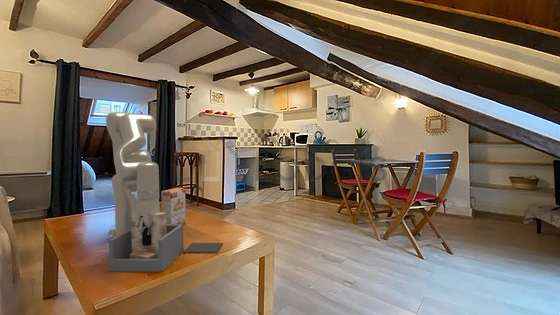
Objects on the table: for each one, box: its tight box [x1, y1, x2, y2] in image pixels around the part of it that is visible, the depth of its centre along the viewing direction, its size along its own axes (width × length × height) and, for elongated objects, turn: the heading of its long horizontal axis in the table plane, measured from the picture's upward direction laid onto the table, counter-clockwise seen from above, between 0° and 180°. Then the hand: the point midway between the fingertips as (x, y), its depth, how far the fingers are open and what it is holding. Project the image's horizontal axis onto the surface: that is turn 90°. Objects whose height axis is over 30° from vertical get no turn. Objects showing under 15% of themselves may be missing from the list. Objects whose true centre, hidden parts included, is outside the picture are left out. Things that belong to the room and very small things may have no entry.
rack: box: [108, 225, 185, 273], centre depth 100 cm, size 18×19×11 cm
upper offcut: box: [130, 251, 156, 259], centre depth 95 cm, size 9×4×2 cm, turn 69°
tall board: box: [131, 212, 167, 259], centre depth 100 cm, size 12×3×18 cm, turn 89°
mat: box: [182, 242, 224, 254], centre depth 111 cm, size 14×10×1 cm
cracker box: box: [160, 187, 186, 226], centre depth 143 cm, size 14×6×21 cm, turn 168°
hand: (149, 243), depth 100 cm, fingers closed on tall board, 3 cm apart
